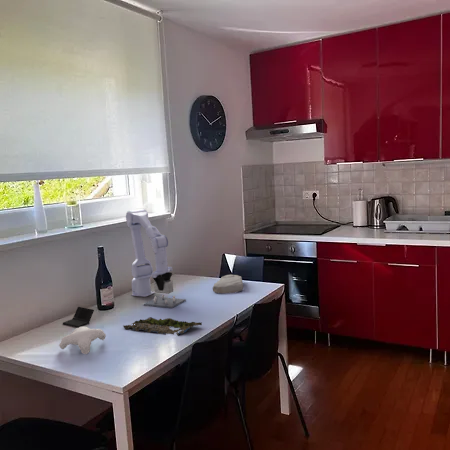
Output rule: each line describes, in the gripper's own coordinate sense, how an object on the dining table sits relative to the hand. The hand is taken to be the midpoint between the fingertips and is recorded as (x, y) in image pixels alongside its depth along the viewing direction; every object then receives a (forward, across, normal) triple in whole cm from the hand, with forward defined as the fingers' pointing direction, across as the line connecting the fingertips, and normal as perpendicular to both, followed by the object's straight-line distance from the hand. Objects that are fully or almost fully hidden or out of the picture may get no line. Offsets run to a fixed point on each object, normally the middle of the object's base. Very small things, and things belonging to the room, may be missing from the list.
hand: (163, 289), depth 224 cm
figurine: (+7, -56, -2) cm, 56 cm away
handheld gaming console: (+8, -35, +21) cm, 42 cm away
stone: (+8, +33, -19) cm, 39 cm away
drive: (+2, 0, 0) cm, 2 cm away
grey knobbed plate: (+7, 0, 0) cm, 7 cm away
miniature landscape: (+8, -30, -19) cm, 36 cm away
